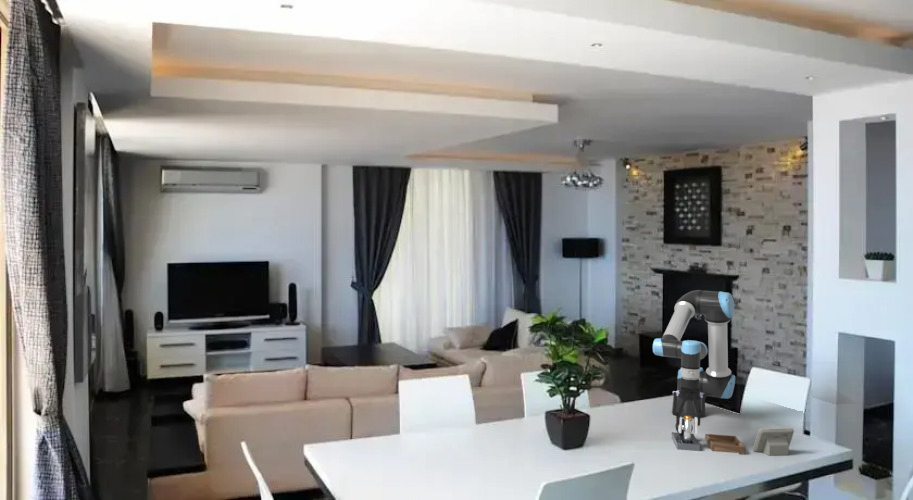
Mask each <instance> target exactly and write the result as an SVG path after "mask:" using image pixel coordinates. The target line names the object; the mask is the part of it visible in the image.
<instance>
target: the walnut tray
mask: <svg viewBox="0 0 913 500" xmlns="http://www.w3.org/2000/svg"><path fill="white" fill-rule="evenodd" d="M704 441H705V443H706V444H707V445H708V447H709V449H710V450H711V451H712V452H718V453H719V452H720V453H731V454H733V453H734V454H738V455H745V446H744V444H742V442H741V441H740V440H739V438H738V437H737V436H736V435H729V434H727V435H726V434H714V433H713V434H711V433H710V434H709V433H705V435H704Z"/></svg>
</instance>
